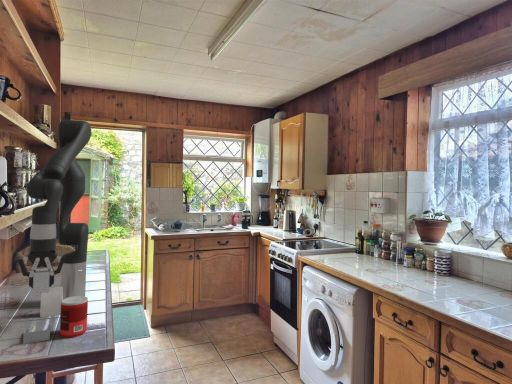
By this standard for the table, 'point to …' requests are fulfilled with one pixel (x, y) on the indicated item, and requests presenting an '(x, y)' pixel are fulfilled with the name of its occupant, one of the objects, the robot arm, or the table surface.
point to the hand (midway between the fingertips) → (41, 286)
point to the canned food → (73, 316)
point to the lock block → (41, 281)
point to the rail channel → (36, 336)
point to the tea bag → (51, 302)
